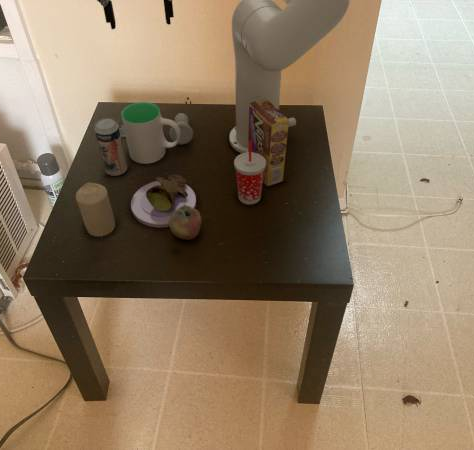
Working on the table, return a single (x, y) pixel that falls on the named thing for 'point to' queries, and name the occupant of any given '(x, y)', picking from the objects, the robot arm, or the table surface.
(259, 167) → the beverage cup
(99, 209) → the candle
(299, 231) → the table surface
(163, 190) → the toy
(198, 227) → the apple
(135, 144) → the mug
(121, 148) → the canister with white lid
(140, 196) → the dish
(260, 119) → the candy box
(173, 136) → the chess piece
